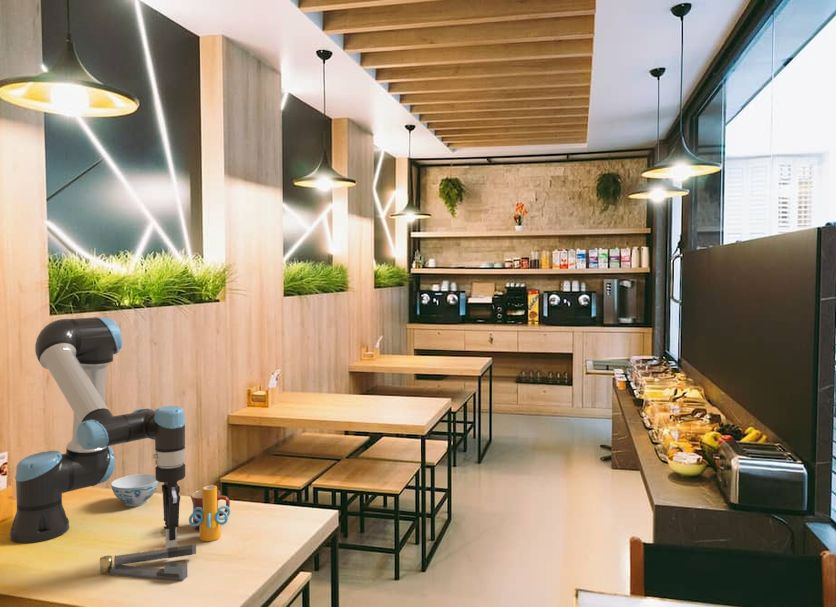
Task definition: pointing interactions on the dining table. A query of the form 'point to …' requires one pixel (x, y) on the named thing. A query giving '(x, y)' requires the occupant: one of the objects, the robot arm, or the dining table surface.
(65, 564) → the dining table surface
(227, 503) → the mug
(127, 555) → the tongs arm
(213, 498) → the cylinder
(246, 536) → the dining table surface
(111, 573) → the tongs fixed
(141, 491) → the chinaware
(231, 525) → the dining table surface
